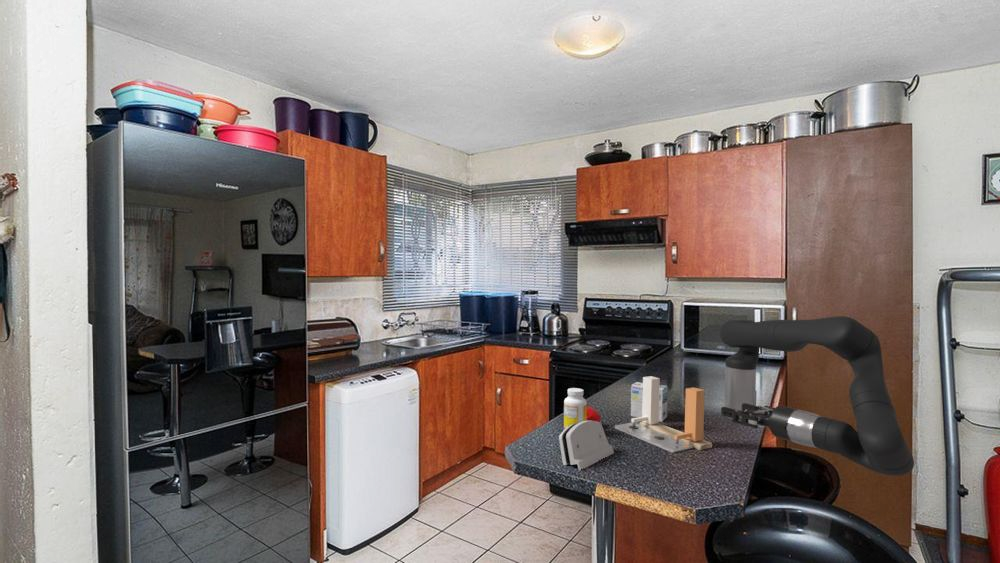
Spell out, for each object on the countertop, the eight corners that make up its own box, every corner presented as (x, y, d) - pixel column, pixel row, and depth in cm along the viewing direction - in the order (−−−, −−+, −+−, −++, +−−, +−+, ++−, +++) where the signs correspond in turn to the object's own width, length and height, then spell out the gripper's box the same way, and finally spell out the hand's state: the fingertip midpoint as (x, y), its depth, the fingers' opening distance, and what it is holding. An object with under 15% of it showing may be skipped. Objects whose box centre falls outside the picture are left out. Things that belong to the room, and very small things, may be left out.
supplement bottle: (579, 428, 140) (581, 386, 140) (589, 435, 134) (591, 391, 134) (559, 429, 138) (560, 387, 138) (569, 437, 132) (570, 393, 132)
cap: (572, 417, 141) (589, 410, 138) (575, 406, 146) (591, 398, 143) (587, 437, 141) (604, 430, 139) (589, 425, 147) (605, 418, 144)
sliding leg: (692, 436, 131) (694, 387, 131) (703, 440, 128) (704, 390, 128) (670, 441, 127) (671, 390, 127) (680, 446, 124) (682, 393, 124)
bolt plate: (633, 424, 145) (633, 421, 145) (692, 448, 126) (692, 444, 126) (614, 428, 141) (614, 425, 141) (672, 452, 122) (672, 449, 122)
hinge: (579, 470, 109) (568, 428, 111) (564, 471, 112) (554, 430, 114) (615, 452, 121) (604, 414, 123) (600, 453, 124) (590, 416, 126)
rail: (650, 424, 146) (650, 420, 146) (712, 447, 127) (712, 443, 127) (639, 426, 143) (639, 422, 143) (700, 450, 124) (700, 445, 124)
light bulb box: (667, 417, 154) (668, 385, 154) (662, 422, 148) (663, 389, 148) (635, 411, 159) (636, 381, 159) (629, 416, 154) (630, 384, 154)
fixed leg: (649, 420, 145) (651, 376, 145) (658, 424, 142) (659, 378, 142) (628, 424, 141) (629, 378, 141) (636, 428, 138) (638, 381, 138)
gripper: (815, 406, 108) (749, 391, 122) (780, 413, 101) (715, 397, 115) (814, 438, 108) (748, 419, 122) (780, 447, 101) (714, 426, 115)
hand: (732, 408), depth 119 cm, fingers open, 8 cm apart
